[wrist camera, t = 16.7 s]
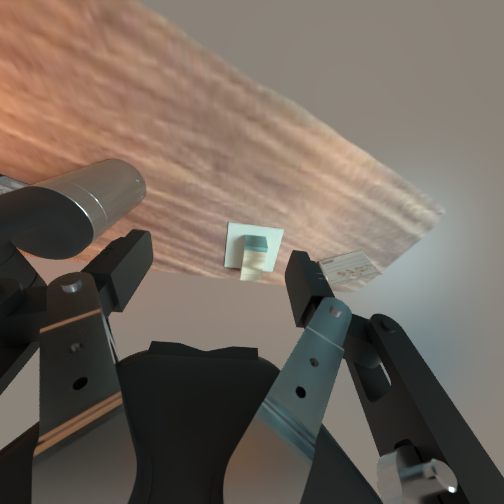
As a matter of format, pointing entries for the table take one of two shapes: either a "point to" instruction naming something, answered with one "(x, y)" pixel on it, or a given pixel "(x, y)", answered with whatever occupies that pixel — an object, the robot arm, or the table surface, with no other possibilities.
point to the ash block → (253, 257)
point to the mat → (238, 237)
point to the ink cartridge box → (348, 268)
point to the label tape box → (9, 184)
